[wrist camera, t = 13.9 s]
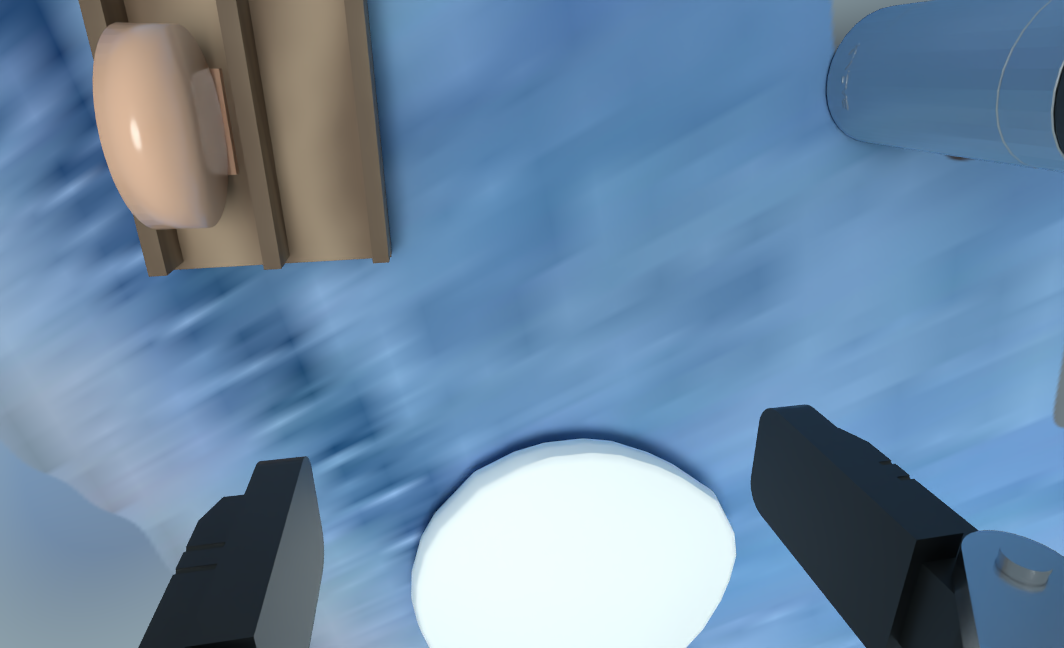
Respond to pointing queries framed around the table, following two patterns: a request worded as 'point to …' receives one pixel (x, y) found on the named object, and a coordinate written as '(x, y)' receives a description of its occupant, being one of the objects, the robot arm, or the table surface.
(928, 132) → the robot arm
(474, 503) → the plate
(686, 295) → the table surface
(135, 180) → the saucer
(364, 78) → the dish rack
